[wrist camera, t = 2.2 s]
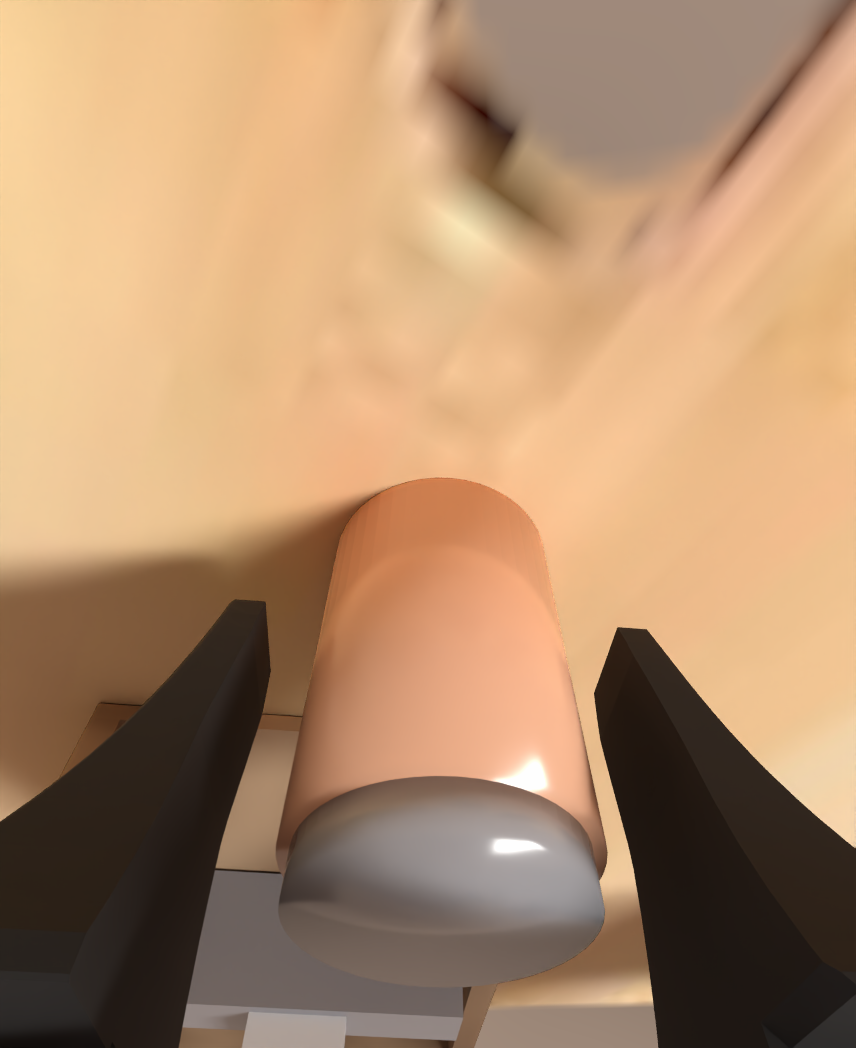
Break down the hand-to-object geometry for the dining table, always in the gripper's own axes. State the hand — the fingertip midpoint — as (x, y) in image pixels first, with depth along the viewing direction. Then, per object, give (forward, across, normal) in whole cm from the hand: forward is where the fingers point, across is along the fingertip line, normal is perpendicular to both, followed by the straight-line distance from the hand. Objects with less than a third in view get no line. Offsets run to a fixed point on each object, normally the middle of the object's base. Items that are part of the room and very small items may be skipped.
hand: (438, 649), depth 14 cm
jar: (+3, 0, 0) cm, 3 cm away
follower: (+2, +3, +15) cm, 15 cm away
